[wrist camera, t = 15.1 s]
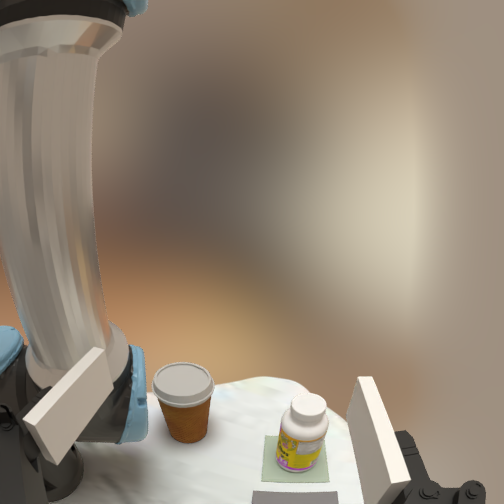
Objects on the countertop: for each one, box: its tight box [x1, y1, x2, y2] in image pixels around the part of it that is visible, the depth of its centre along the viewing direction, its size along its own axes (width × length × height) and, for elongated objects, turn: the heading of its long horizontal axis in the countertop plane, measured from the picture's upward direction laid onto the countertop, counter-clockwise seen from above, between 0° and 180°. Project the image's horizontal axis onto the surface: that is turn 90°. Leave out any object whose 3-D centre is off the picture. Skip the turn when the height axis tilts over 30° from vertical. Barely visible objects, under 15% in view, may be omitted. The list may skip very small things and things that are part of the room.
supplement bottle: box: [276, 393, 329, 472], centre depth 37 cm, size 7×7×13 cm
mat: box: [261, 435, 329, 483], centre depth 38 cm, size 10×10×1 cm
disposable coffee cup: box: [152, 362, 215, 443], centre depth 42 cm, size 10×10×12 cm
